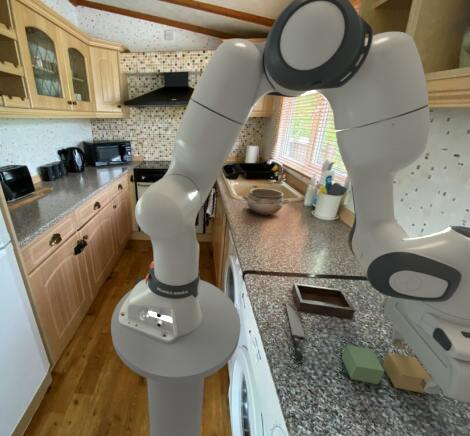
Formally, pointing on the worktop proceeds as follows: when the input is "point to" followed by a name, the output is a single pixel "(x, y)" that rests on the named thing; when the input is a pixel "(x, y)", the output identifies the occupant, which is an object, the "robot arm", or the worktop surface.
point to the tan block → (405, 372)
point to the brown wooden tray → (322, 300)
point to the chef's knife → (295, 329)
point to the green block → (362, 364)
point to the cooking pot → (265, 200)
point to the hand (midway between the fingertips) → (410, 366)
